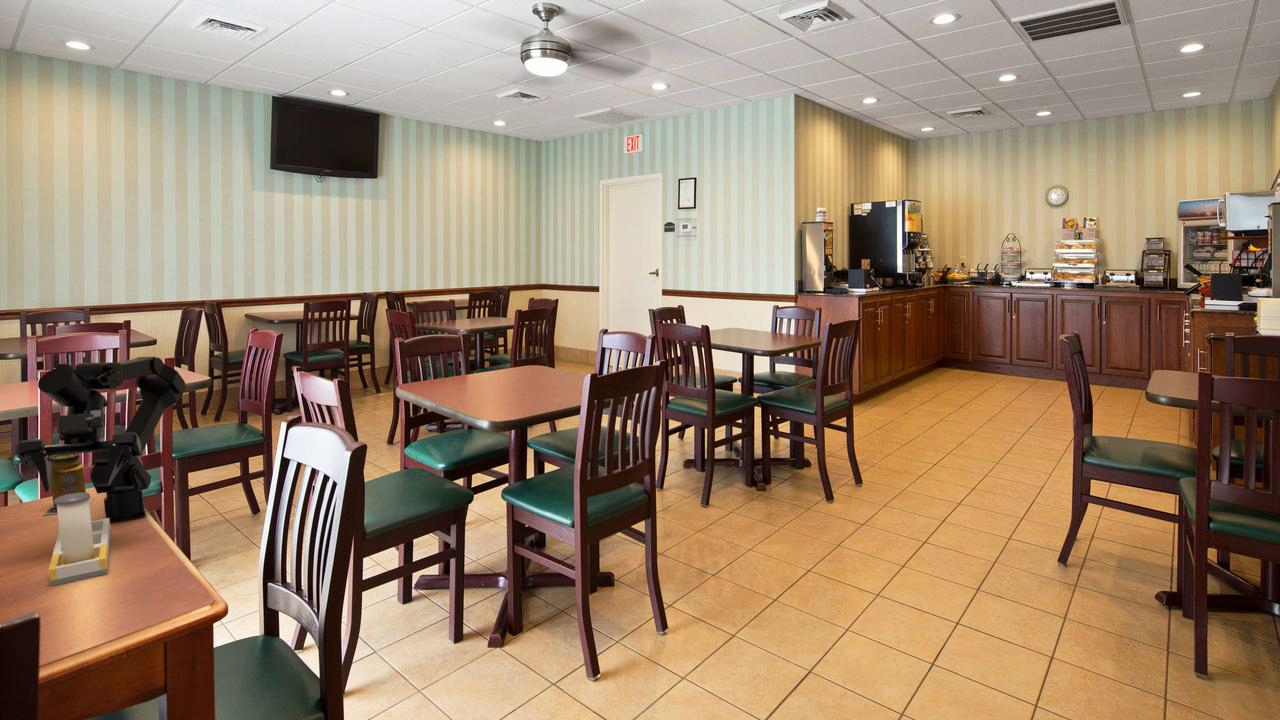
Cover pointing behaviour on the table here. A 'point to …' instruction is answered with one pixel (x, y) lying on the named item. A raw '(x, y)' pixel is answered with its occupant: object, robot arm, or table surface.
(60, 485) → the condiment
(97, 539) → the socket bank
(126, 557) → the table surface
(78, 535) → the post
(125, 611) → the table surface
